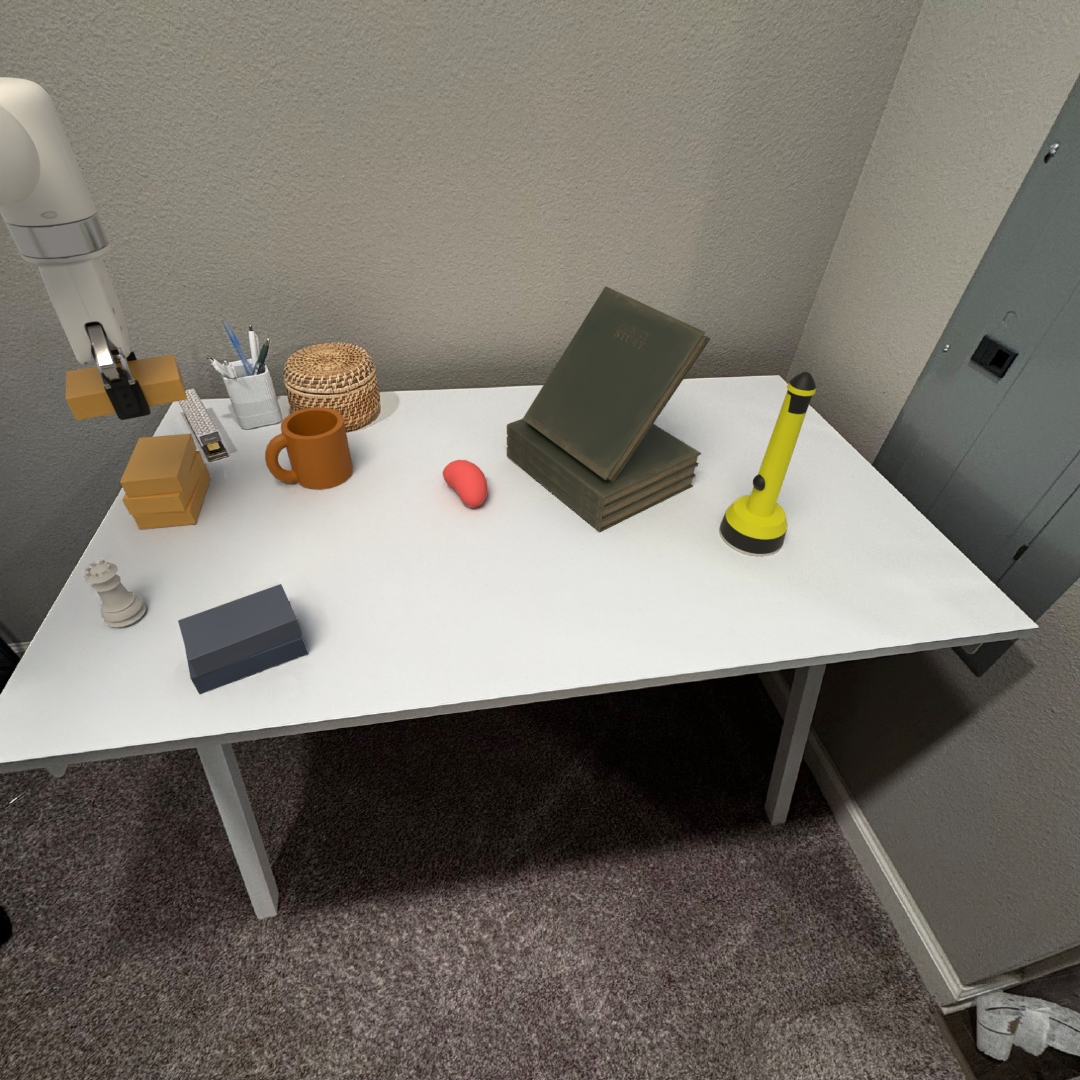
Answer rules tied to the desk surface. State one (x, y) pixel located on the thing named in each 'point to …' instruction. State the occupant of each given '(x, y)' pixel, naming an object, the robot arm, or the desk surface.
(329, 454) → the mug
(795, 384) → the flashlight
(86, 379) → the orange tan block
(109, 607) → the rook chess piece
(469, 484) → the red kidney bean
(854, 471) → the desk surface
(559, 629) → the desk surface
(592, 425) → the olive book stack
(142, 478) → the tan block stack
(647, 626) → the desk surface
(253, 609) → the slate books
